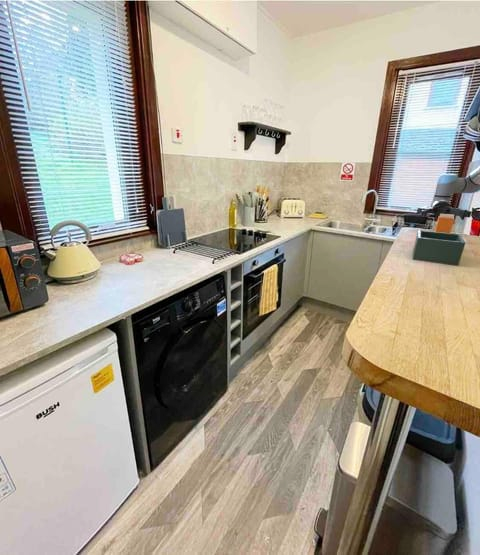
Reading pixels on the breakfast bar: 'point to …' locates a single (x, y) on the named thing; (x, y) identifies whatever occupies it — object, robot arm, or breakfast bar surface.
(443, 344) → the breakfast bar surface
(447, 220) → the block
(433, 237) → the waste bin
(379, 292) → the breakfast bar surface
